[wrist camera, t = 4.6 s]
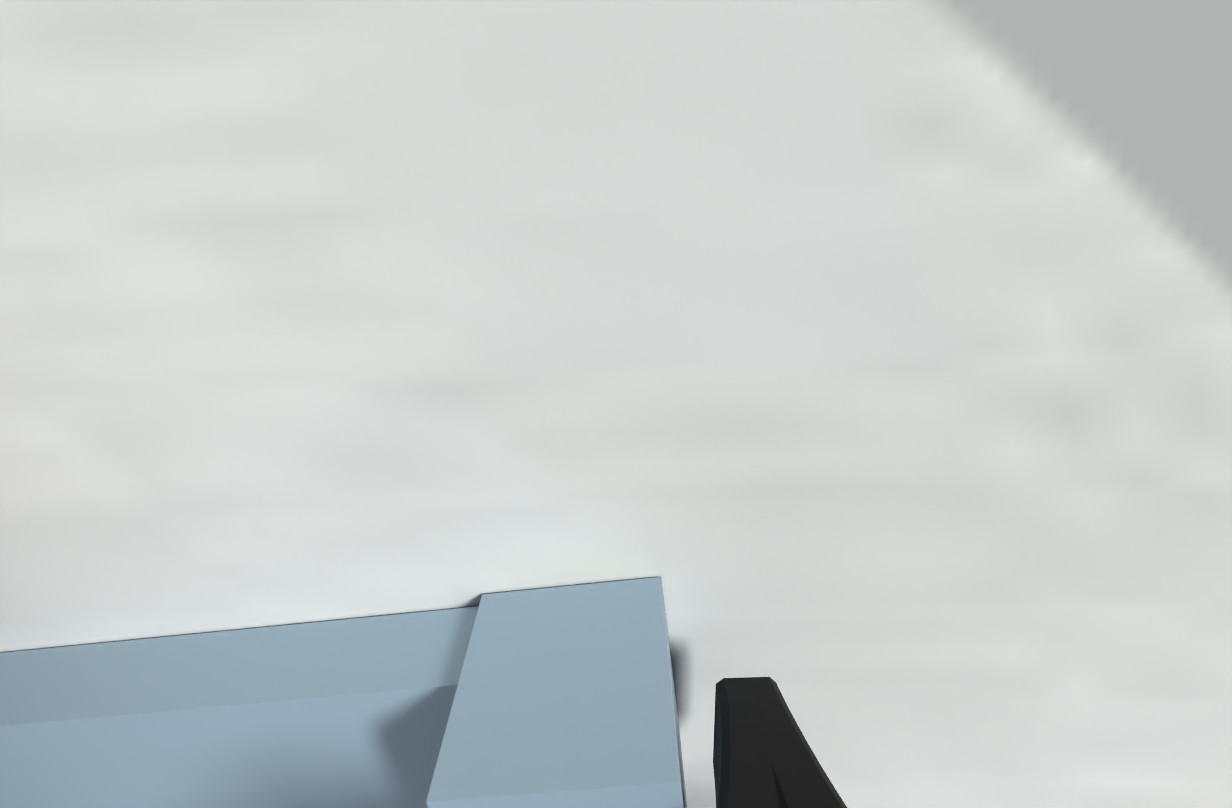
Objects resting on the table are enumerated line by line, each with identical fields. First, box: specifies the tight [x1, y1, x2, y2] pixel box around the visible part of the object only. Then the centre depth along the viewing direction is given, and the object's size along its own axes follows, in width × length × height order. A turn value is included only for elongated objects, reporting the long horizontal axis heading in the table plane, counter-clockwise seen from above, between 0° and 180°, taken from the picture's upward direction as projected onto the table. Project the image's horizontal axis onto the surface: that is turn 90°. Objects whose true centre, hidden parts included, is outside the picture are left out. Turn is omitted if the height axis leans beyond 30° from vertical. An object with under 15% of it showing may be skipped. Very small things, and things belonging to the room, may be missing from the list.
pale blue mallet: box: [0, 577, 687, 808], centre depth 10 cm, size 4×16×4 cm, turn 97°
